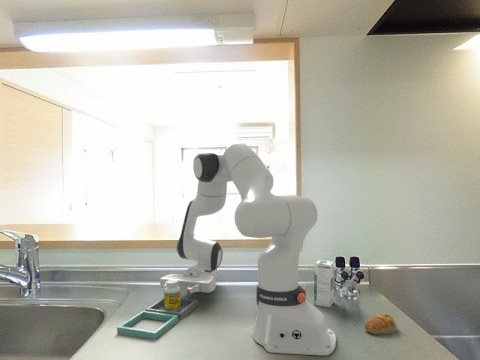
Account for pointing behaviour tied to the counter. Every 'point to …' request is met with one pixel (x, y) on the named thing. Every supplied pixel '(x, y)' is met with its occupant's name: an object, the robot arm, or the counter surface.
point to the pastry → (380, 324)
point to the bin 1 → (145, 333)
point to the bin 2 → (181, 314)
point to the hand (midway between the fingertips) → (176, 289)
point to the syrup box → (324, 283)
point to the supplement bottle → (172, 296)
